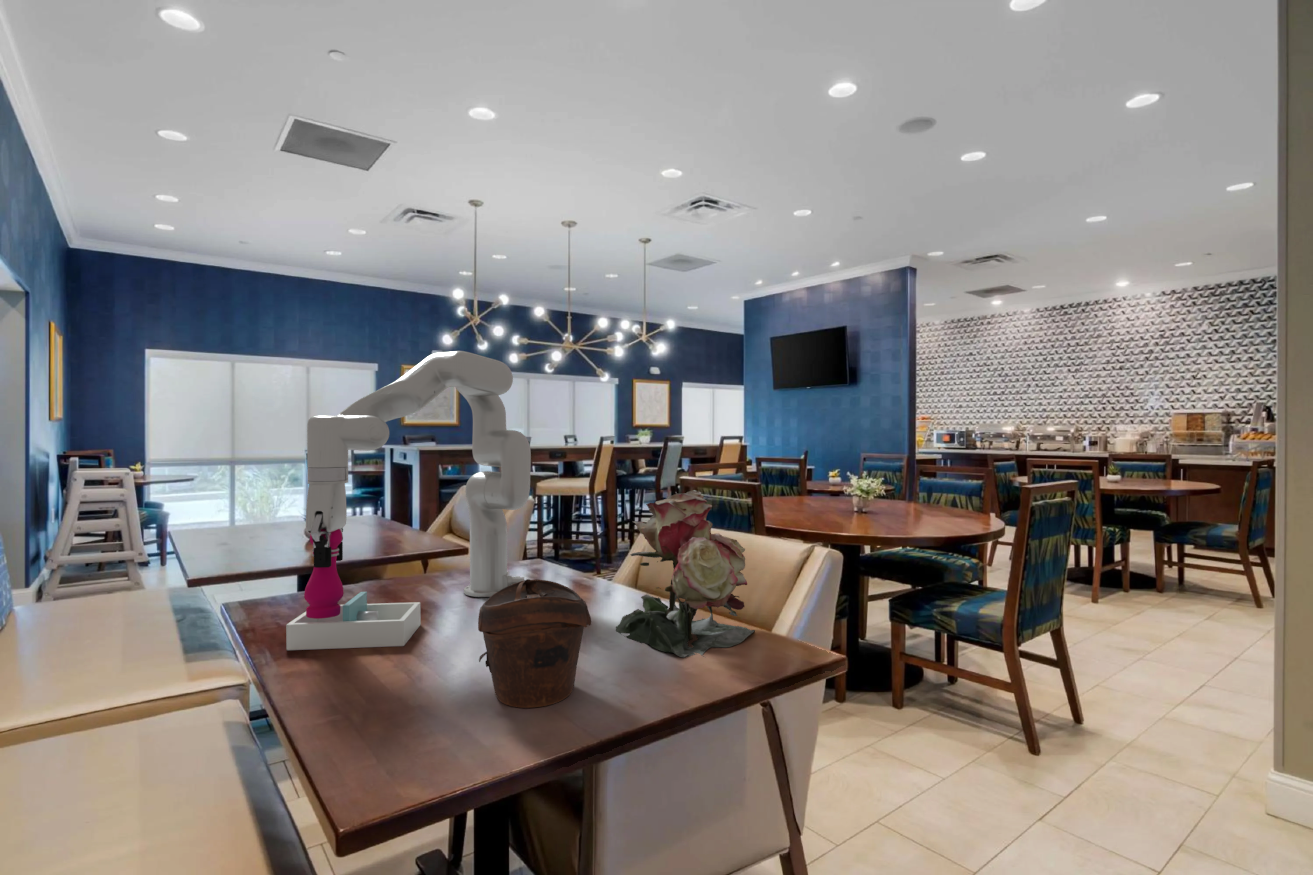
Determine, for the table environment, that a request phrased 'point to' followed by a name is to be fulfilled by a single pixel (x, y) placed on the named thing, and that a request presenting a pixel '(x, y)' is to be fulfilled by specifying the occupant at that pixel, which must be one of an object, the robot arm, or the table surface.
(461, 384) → the robot arm
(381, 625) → the white tray
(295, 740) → the table surface
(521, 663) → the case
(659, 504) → the rose bouquet
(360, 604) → the pusher
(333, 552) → the pepper mill
